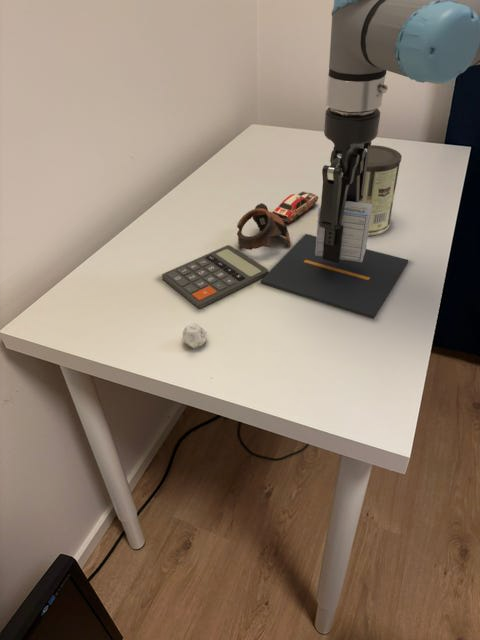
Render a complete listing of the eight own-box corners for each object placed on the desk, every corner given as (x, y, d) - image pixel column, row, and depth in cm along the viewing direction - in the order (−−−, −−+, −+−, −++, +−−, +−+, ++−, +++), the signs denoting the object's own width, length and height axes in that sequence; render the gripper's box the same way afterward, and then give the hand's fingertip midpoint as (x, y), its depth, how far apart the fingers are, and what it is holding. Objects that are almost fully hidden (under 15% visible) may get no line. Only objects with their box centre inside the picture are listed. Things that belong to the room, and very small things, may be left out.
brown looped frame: (298, 256, 90) (281, 229, 84) (253, 276, 93) (233, 251, 87) (286, 212, 97) (269, 184, 91) (245, 232, 100) (226, 206, 94)
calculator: (160, 273, 85) (228, 243, 92) (161, 278, 85) (228, 248, 92) (198, 304, 77) (269, 269, 84) (199, 308, 78) (269, 273, 85)
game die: (190, 333, 74) (188, 317, 72) (211, 339, 72) (210, 324, 71) (178, 347, 71) (176, 332, 69) (200, 354, 70) (198, 338, 68)
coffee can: (354, 207, 103) (362, 140, 94) (398, 221, 98) (411, 152, 89) (327, 225, 98) (333, 157, 89) (373, 241, 92) (384, 170, 83)
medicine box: (366, 250, 82) (373, 203, 77) (361, 263, 79) (368, 215, 74) (320, 243, 85) (324, 197, 79) (314, 256, 82) (318, 209, 76)
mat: (407, 262, 86) (408, 259, 86) (373, 318, 75) (374, 315, 74) (305, 236, 95) (305, 233, 94) (260, 283, 83) (260, 280, 83)
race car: (269, 225, 102) (267, 207, 98) (304, 197, 107) (303, 178, 104) (287, 233, 99) (286, 214, 96) (322, 203, 104) (322, 185, 101)
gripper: (355, 132, 60) (337, 285, 75) (399, 94, 71) (377, 233, 86) (300, 123, 63) (293, 272, 78) (351, 88, 75) (337, 223, 89)
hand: (337, 251), depth 82 cm, fingers closed on medicine box, 5 cm apart
